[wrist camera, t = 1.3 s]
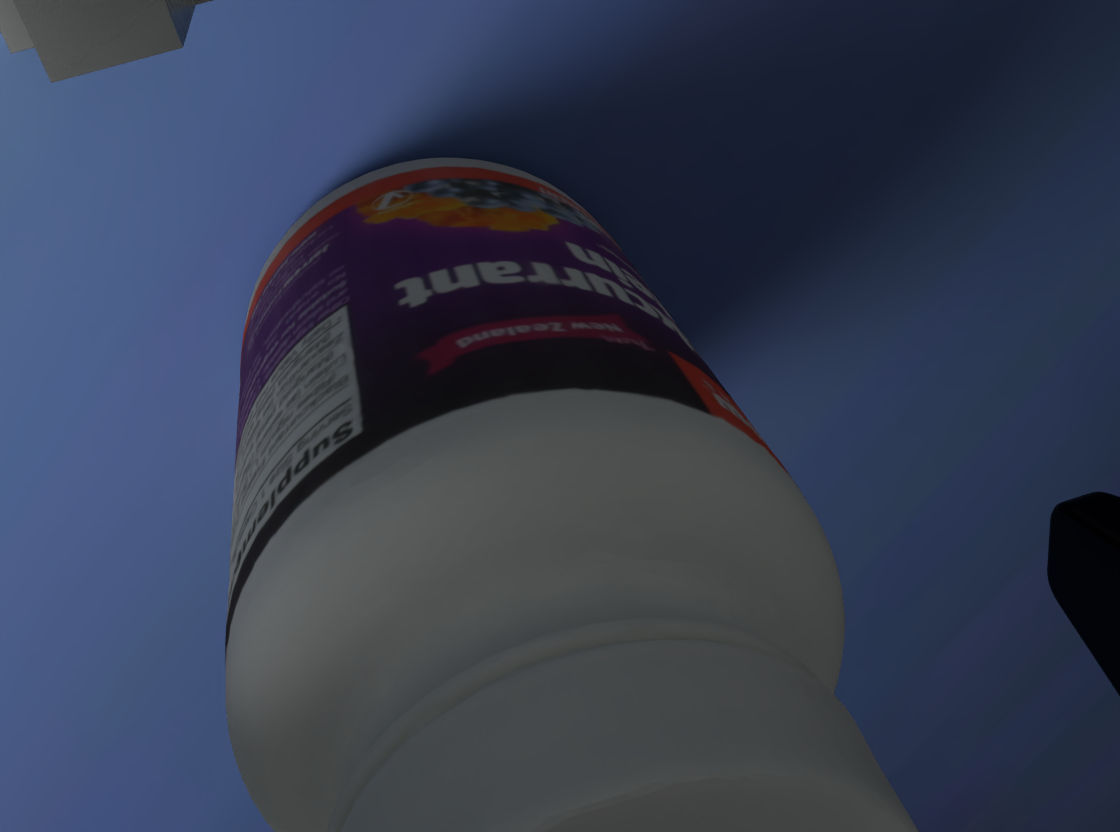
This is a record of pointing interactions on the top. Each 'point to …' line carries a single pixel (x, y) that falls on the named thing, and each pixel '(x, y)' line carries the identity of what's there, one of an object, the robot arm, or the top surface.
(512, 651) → the pill bottle
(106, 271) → the top surface
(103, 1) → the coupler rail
